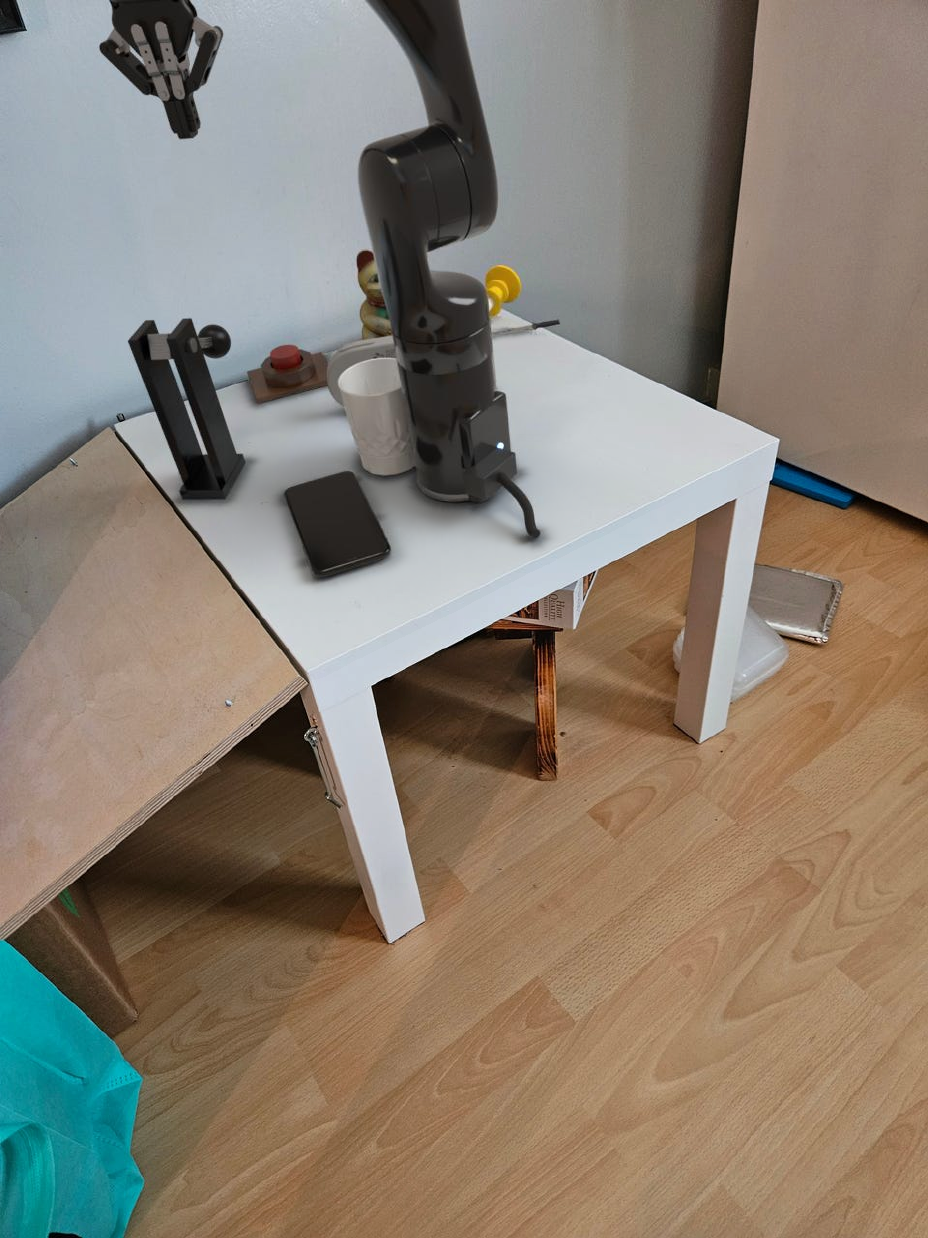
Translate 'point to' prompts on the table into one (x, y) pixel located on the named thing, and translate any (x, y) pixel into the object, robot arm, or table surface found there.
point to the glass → (377, 415)
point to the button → (285, 357)
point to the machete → (527, 327)
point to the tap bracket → (196, 469)
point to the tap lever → (210, 338)
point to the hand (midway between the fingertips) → (189, 136)
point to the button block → (288, 377)
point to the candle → (501, 287)
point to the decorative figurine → (372, 299)
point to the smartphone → (336, 524)
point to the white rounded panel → (356, 359)
